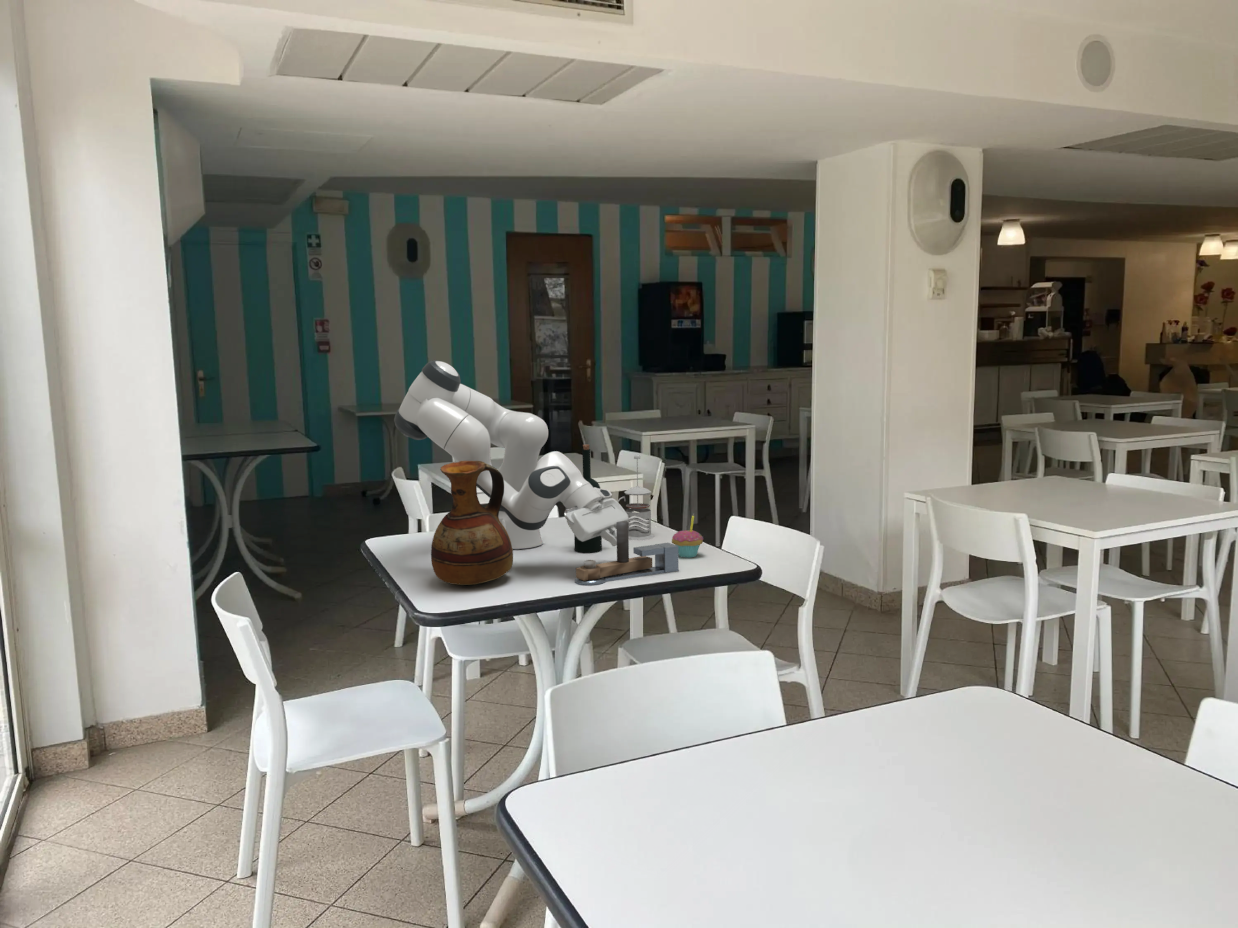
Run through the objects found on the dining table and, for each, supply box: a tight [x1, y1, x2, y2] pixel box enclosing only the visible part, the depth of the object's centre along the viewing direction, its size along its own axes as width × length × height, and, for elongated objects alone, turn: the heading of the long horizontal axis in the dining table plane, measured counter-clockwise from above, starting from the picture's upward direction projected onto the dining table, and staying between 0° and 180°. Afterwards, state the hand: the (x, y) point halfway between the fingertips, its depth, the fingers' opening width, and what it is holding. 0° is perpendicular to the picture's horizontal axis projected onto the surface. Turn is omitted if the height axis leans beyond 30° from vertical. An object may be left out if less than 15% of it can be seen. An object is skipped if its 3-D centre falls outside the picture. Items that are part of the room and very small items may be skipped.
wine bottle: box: [573, 444, 603, 554], centre depth 262 cm, size 8×10×30 cm
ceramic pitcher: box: [430, 461, 514, 586], centre depth 229 cm, size 20×20×30 cm
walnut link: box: [575, 521, 653, 581], centre depth 233 cm, size 21×5×12 cm, turn 126°
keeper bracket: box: [574, 542, 679, 586], centre depth 234 cm, size 28×8×6 cm, turn 118°
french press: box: [616, 454, 655, 541], centre depth 279 cm, size 10×12×25 cm
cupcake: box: [671, 513, 704, 559], centre depth 254 cm, size 9×8×12 cm
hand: (617, 544), depth 236 cm, fingers closed
